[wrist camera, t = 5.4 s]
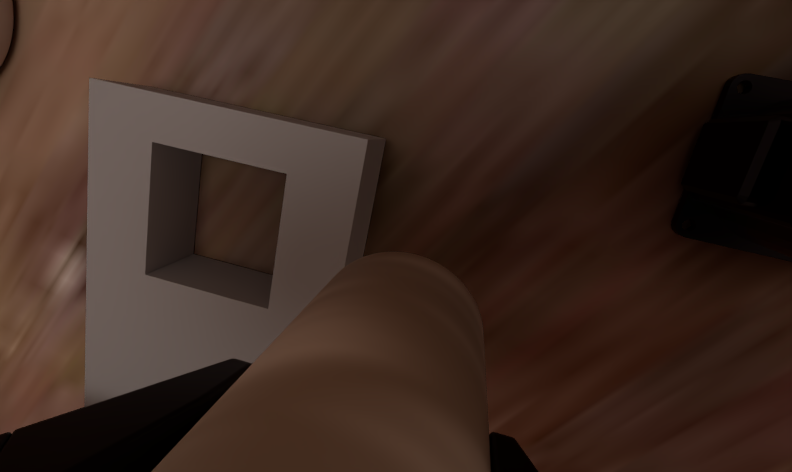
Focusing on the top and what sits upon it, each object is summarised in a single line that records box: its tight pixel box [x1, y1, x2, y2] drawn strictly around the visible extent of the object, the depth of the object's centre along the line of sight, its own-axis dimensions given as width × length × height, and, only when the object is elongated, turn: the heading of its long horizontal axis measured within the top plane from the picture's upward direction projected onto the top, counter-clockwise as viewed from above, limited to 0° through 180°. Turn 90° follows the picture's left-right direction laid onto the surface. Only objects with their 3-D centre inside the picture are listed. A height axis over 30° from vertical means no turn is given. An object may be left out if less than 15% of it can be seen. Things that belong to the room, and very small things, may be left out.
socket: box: [85, 78, 386, 407], centre depth 21 cm, size 12×18×4 cm, turn 168°
